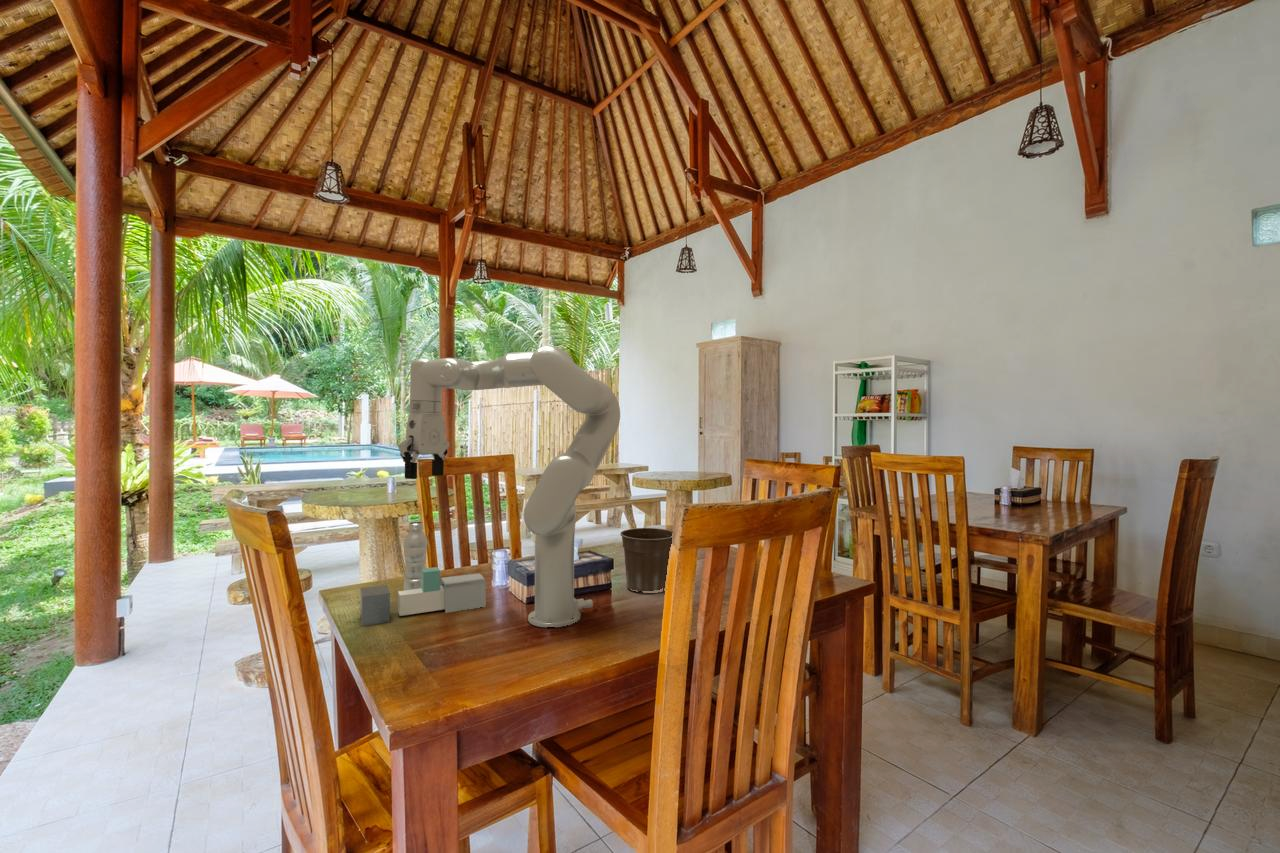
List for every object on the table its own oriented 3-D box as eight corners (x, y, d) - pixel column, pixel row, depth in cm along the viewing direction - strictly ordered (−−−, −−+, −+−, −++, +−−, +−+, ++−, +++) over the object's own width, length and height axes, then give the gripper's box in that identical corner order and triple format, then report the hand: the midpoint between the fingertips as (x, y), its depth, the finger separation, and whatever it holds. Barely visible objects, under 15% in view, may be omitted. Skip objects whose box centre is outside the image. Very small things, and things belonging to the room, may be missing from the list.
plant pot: (687, 591, 163) (687, 534, 163) (639, 600, 155) (639, 540, 154) (656, 578, 177) (656, 525, 177) (610, 585, 168) (610, 531, 168)
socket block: (386, 612, 145) (386, 584, 144) (389, 622, 138) (389, 593, 137) (360, 616, 142) (360, 588, 142) (362, 626, 135) (362, 596, 135)
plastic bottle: (432, 590, 163) (432, 520, 163) (421, 598, 156) (421, 525, 156) (411, 590, 164) (410, 520, 164) (398, 597, 157) (398, 524, 157)
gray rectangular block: (479, 599, 155) (479, 573, 155) (485, 607, 149) (485, 579, 149) (440, 605, 150) (440, 577, 150) (445, 613, 144) (445, 584, 144)
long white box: (476, 599, 153) (476, 562, 153) (480, 604, 150) (480, 565, 150) (397, 611, 144) (397, 571, 144) (399, 615, 140) (399, 575, 140)
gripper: (413, 408, 134) (412, 481, 134) (460, 409, 150) (458, 475, 150) (388, 407, 136) (386, 479, 136) (436, 409, 152) (435, 473, 153)
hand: (424, 477), depth 143 cm, fingers open, 9 cm apart
